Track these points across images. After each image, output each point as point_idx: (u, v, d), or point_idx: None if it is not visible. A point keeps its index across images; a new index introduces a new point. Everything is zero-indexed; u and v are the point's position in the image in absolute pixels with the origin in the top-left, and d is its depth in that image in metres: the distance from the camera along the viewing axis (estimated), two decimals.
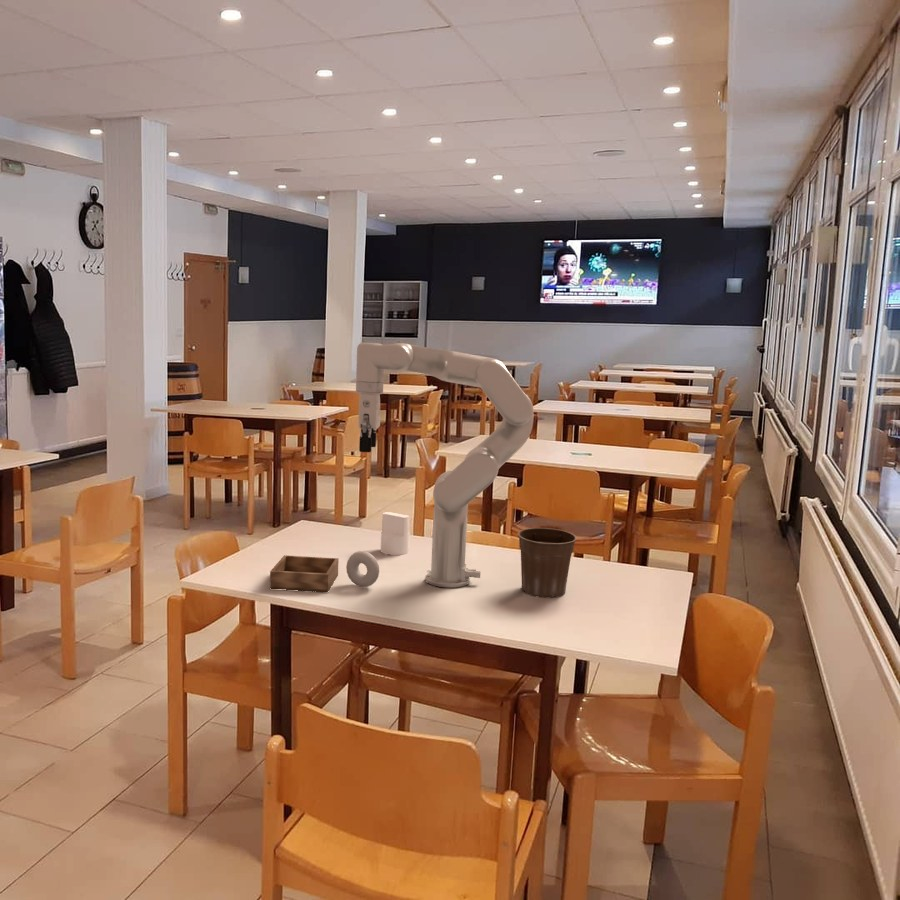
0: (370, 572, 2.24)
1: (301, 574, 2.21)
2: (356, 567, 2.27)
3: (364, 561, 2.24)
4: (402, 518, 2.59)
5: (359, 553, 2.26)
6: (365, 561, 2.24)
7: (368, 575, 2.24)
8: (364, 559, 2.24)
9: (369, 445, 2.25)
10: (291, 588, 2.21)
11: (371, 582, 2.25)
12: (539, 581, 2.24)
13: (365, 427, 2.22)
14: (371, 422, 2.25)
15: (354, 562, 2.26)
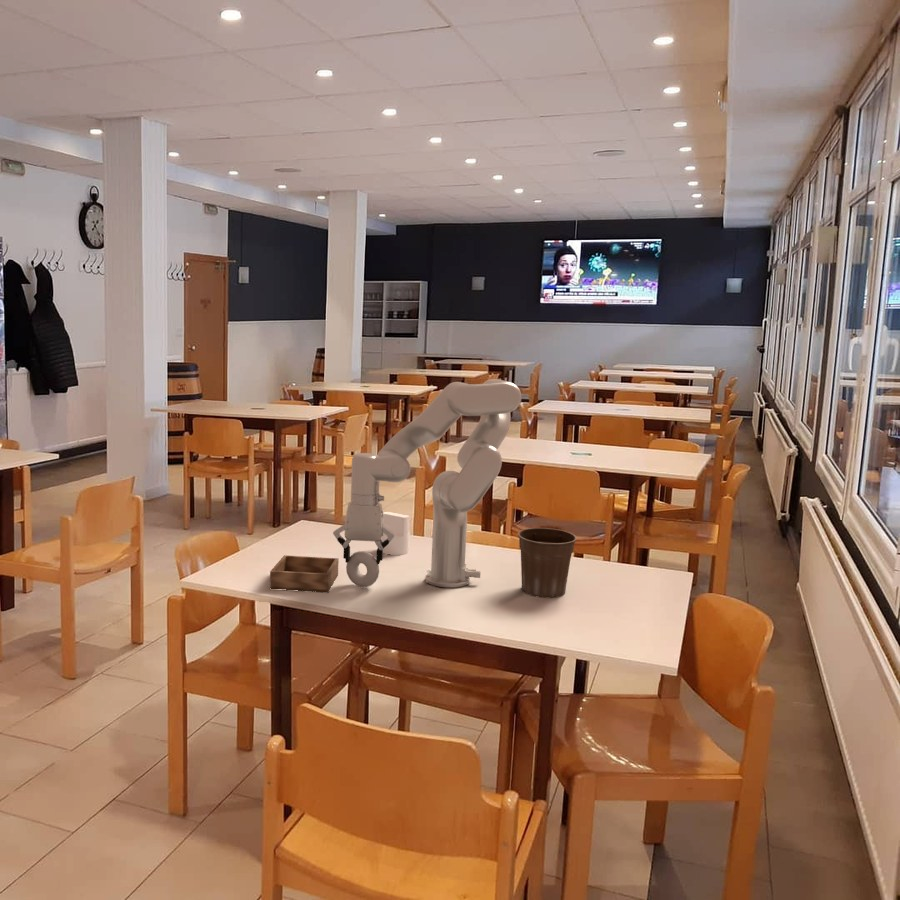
0: (370, 572, 2.24)
1: (301, 574, 2.21)
2: (356, 567, 2.27)
3: (364, 561, 2.24)
4: (402, 518, 2.59)
5: (359, 553, 2.25)
6: (365, 561, 2.24)
7: (368, 575, 2.24)
8: (364, 559, 2.24)
9: None
10: (291, 588, 2.21)
11: (371, 582, 2.25)
12: (539, 581, 2.24)
13: None
14: None
15: (353, 563, 2.26)
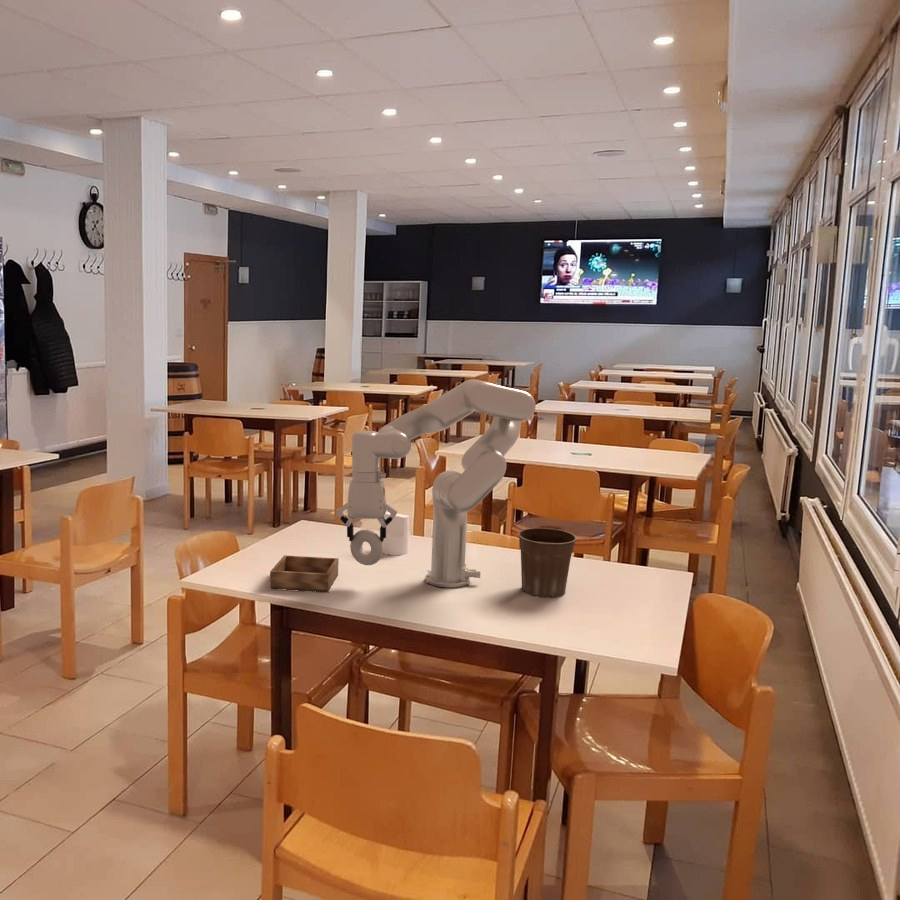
0: (374, 550, 2.23)
1: (301, 574, 2.21)
2: (360, 545, 2.26)
3: (368, 539, 2.24)
4: (402, 518, 2.59)
5: (362, 531, 2.25)
6: (369, 539, 2.24)
7: (372, 553, 2.24)
8: (368, 537, 2.24)
9: None
10: (291, 588, 2.21)
11: (375, 560, 2.24)
12: (539, 581, 2.24)
13: None
14: None
15: (357, 541, 2.25)
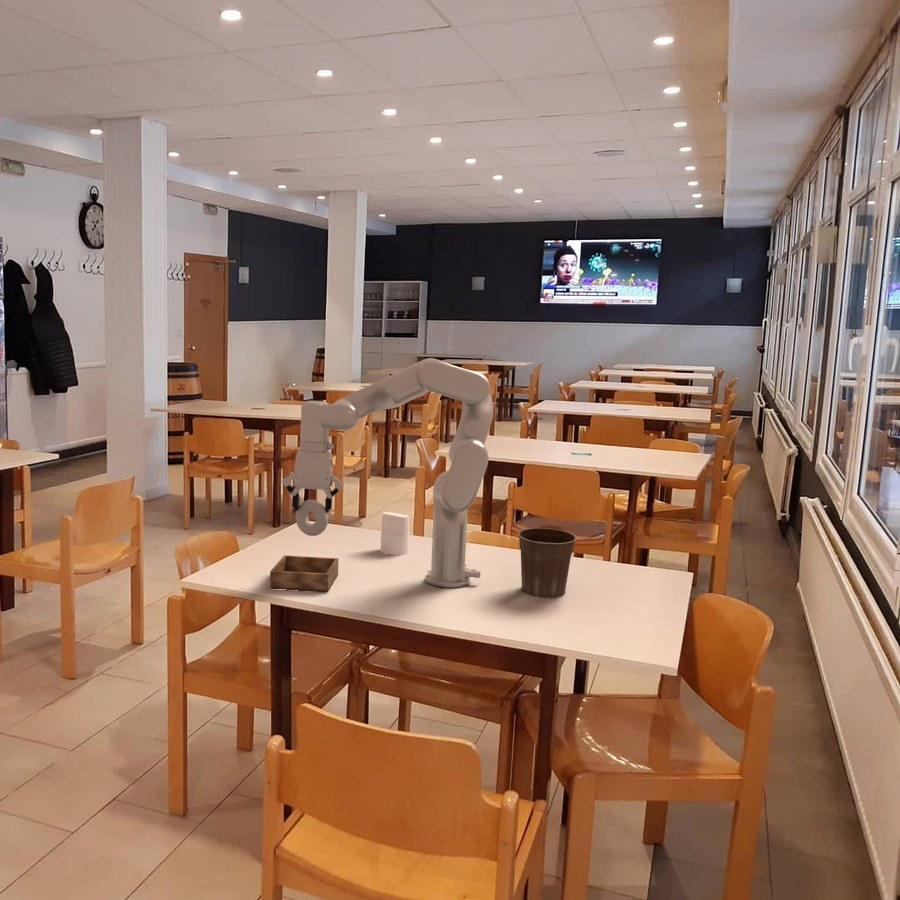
0: (318, 520, 2.23)
1: (301, 574, 2.21)
2: (305, 515, 2.26)
3: (313, 509, 2.24)
4: (402, 518, 2.59)
5: (308, 501, 2.25)
6: (314, 509, 2.23)
7: (316, 523, 2.24)
8: (313, 508, 2.24)
9: None
10: (291, 588, 2.21)
11: (320, 530, 2.24)
12: (539, 581, 2.24)
13: None
14: None
15: (302, 511, 2.25)
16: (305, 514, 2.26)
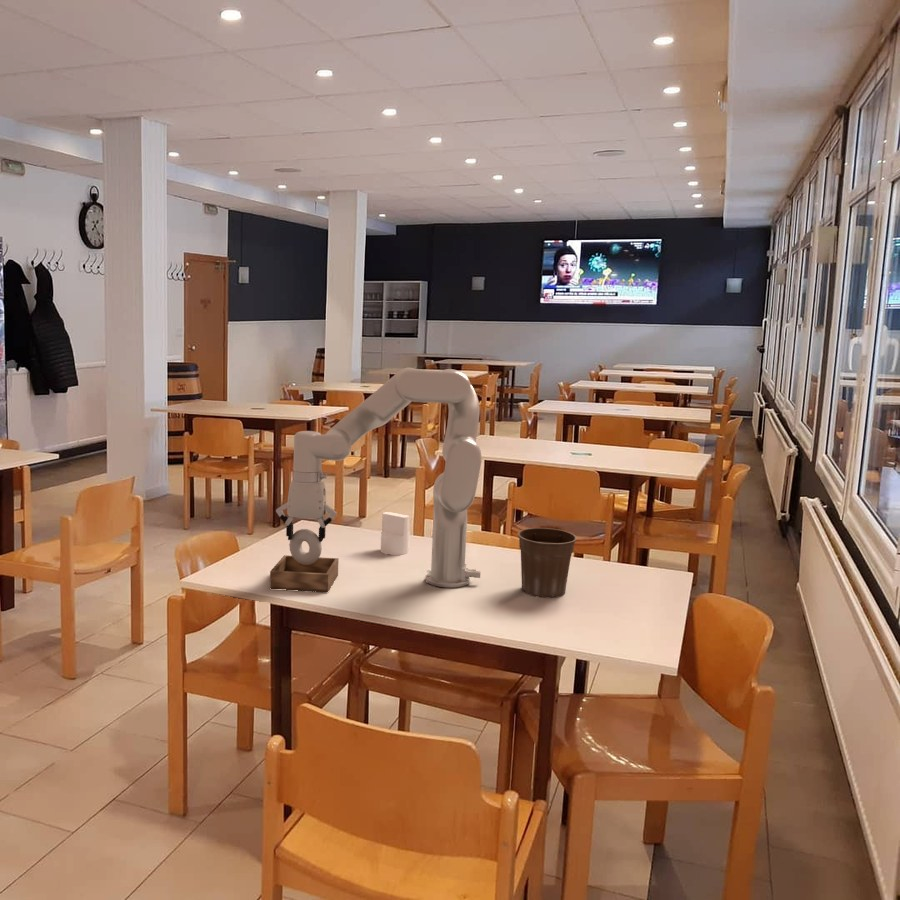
0: (312, 550, 2.25)
1: (301, 574, 2.21)
2: (299, 544, 2.28)
3: (306, 539, 2.25)
4: (402, 518, 2.59)
5: (301, 531, 2.26)
6: (307, 539, 2.25)
7: (310, 552, 2.25)
8: (306, 537, 2.25)
9: None
10: (291, 588, 2.21)
11: (313, 560, 2.25)
12: (539, 581, 2.24)
13: (334, 516, 2.26)
14: None
15: (296, 540, 2.27)
16: (299, 543, 2.27)
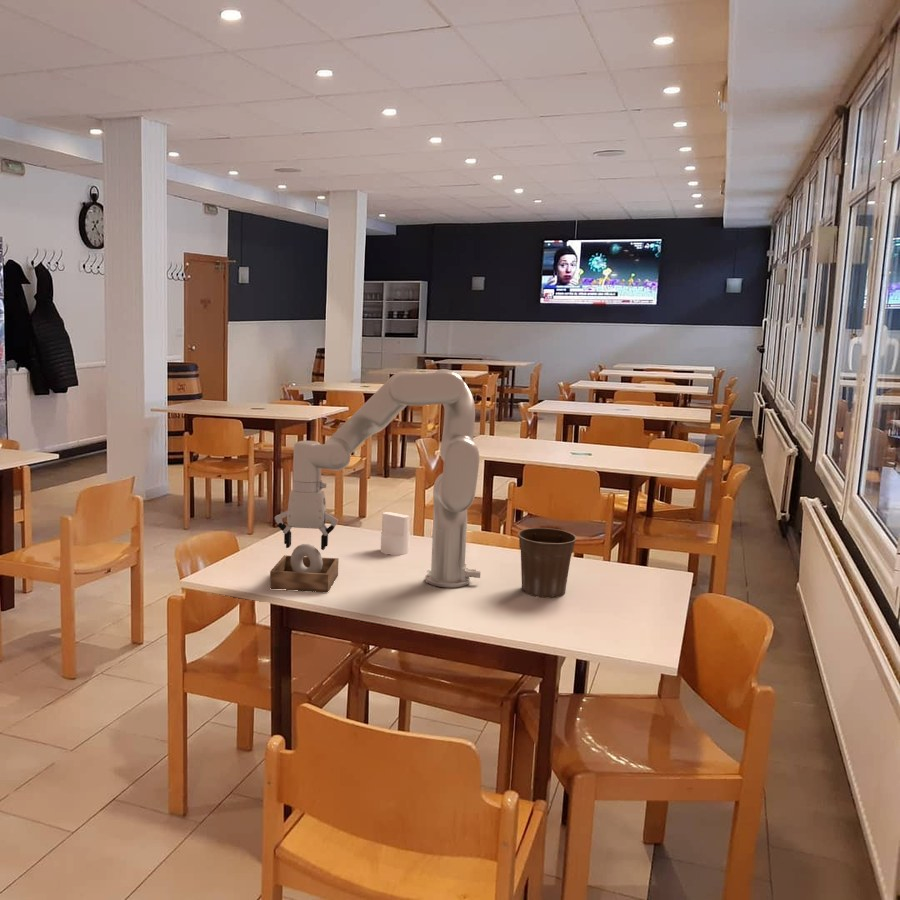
0: (313, 565, 2.25)
1: (301, 574, 2.21)
2: (300, 559, 2.28)
3: (307, 554, 2.26)
4: (402, 518, 2.59)
5: (303, 546, 2.27)
6: (308, 554, 2.26)
7: (311, 567, 2.26)
8: (307, 552, 2.26)
9: None
10: (291, 588, 2.21)
11: None
12: (539, 581, 2.24)
13: (336, 523, 2.27)
14: (325, 518, 2.28)
15: (297, 555, 2.27)
16: (300, 558, 2.28)
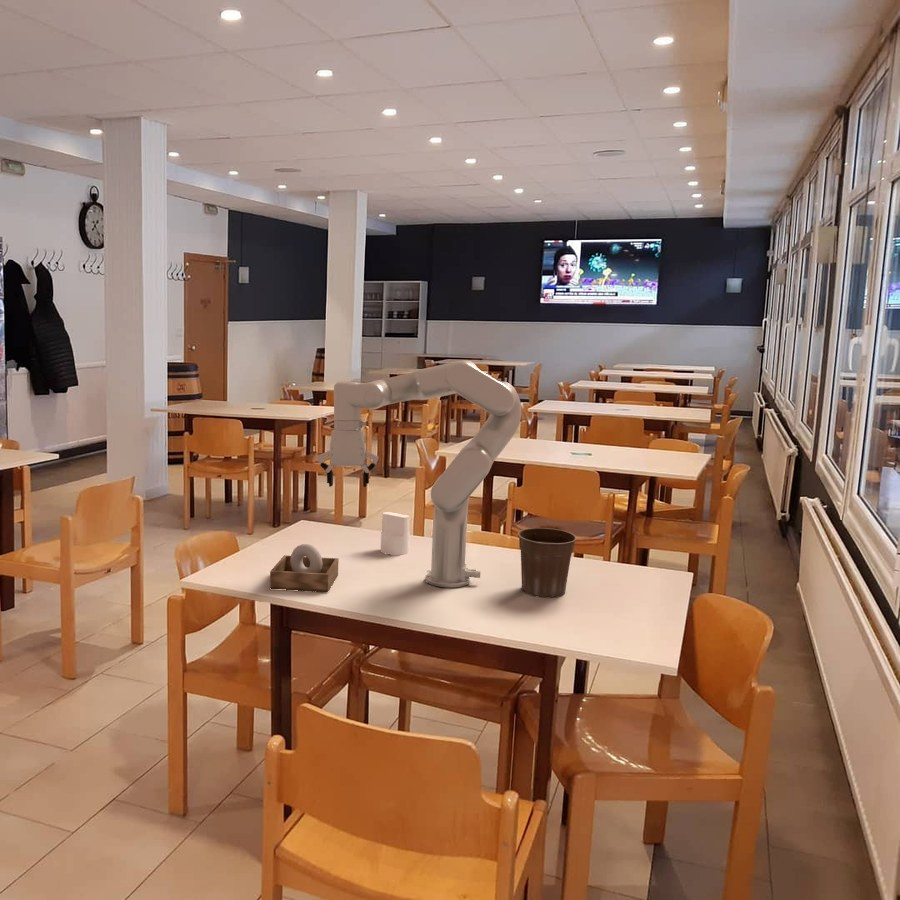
0: (312, 565, 2.25)
1: (301, 574, 2.21)
2: (299, 559, 2.28)
3: (307, 554, 2.26)
4: (402, 518, 2.59)
5: (302, 546, 2.27)
6: (308, 554, 2.26)
7: (311, 567, 2.26)
8: (307, 552, 2.26)
9: None
10: (291, 588, 2.21)
11: None
12: (539, 581, 2.24)
13: None
14: None
15: (297, 555, 2.27)
16: (300, 558, 2.28)
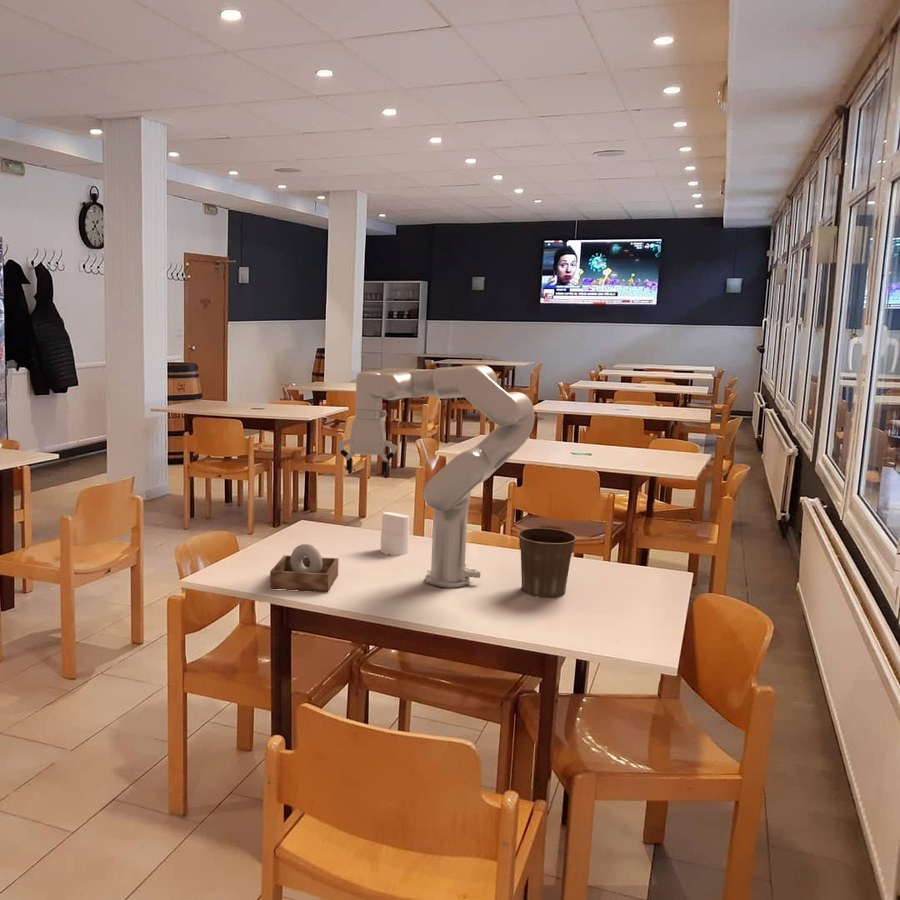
0: (312, 565, 2.25)
1: (301, 574, 2.21)
2: (299, 559, 2.28)
3: (307, 554, 2.26)
4: (402, 518, 2.59)
5: (302, 546, 2.27)
6: (308, 554, 2.26)
7: (311, 567, 2.26)
8: (307, 552, 2.26)
9: None
10: (291, 588, 2.21)
11: None
12: (539, 581, 2.24)
13: None
14: (385, 445, 2.40)
15: (297, 555, 2.27)
16: (300, 558, 2.28)
